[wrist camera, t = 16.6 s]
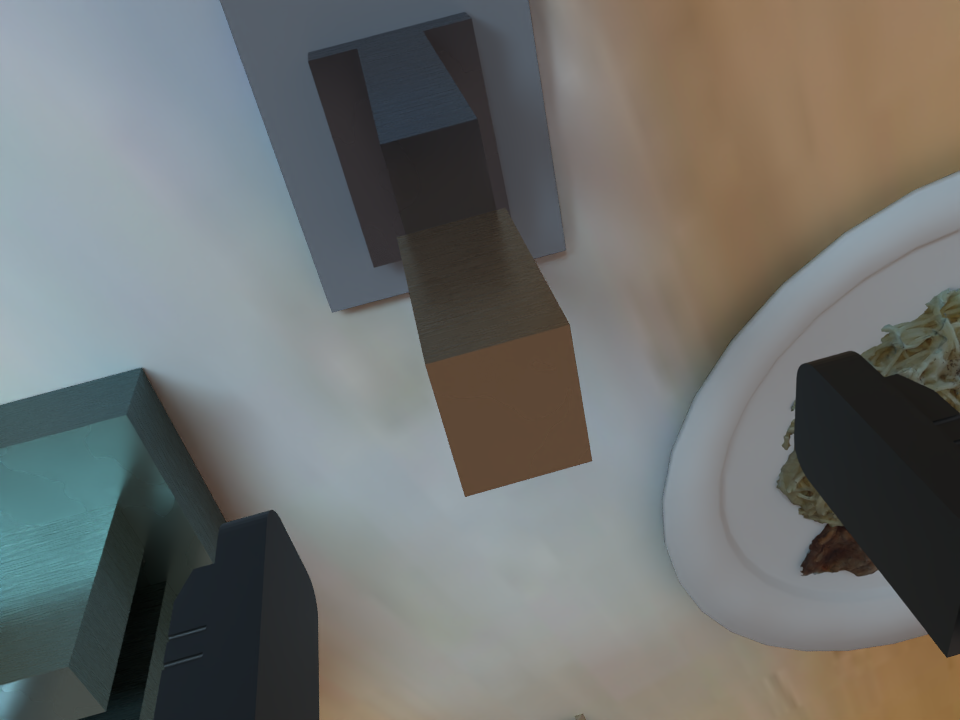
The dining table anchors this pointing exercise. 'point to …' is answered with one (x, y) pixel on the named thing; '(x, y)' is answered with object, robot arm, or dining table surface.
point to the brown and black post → (455, 247)
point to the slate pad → (309, 144)
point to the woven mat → (580, 717)
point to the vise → (94, 548)
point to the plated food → (770, 433)
